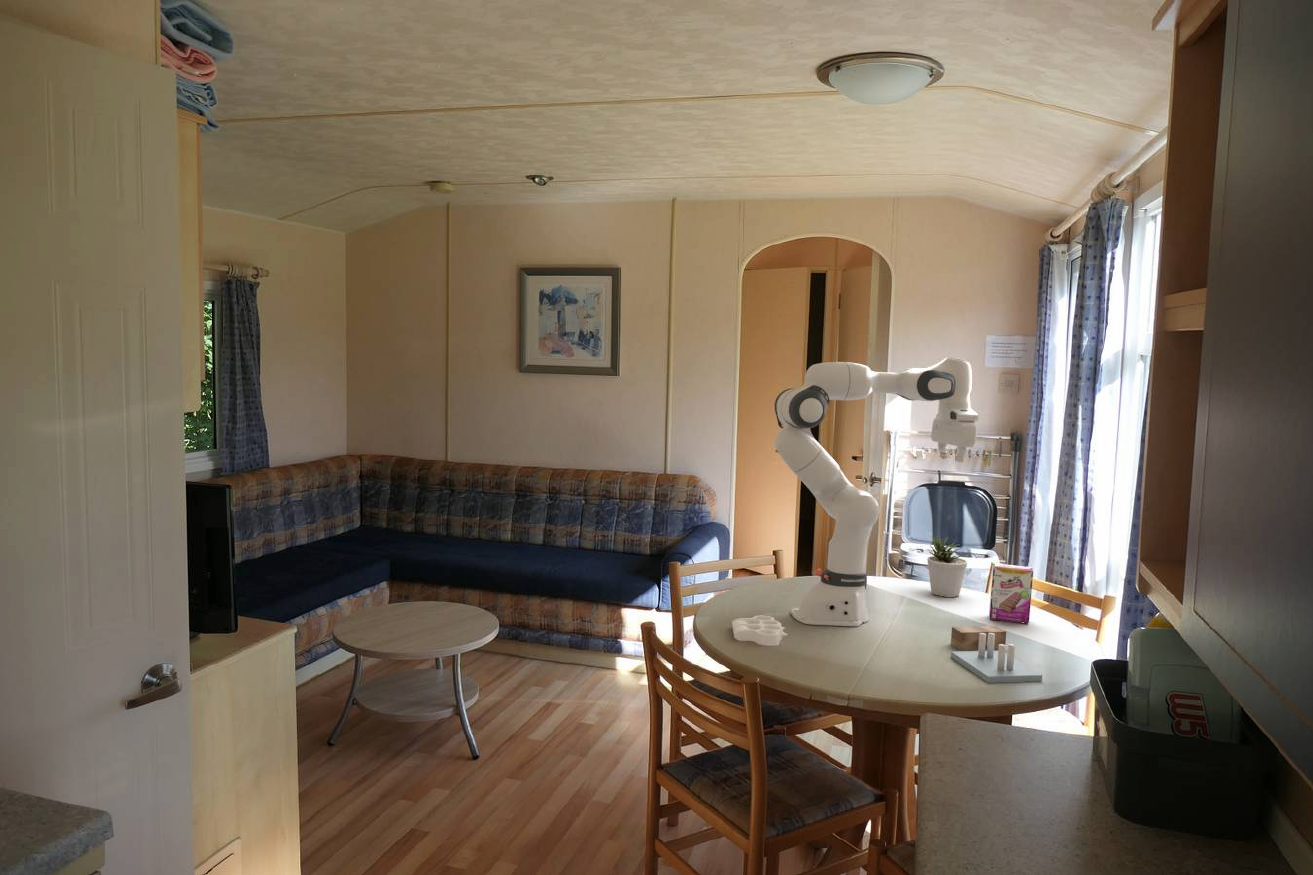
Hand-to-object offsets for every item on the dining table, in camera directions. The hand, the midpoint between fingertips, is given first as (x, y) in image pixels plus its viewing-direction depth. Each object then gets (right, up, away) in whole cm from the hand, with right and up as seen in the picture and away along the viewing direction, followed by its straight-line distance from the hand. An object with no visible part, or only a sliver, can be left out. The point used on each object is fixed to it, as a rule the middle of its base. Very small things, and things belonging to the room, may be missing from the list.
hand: (950, 459), depth 258 cm
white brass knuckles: (-59, -48, -20) cm, 79 cm away
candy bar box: (+18, -48, +3) cm, 52 cm away
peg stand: (-3, -51, -41) cm, 66 cm away
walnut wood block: (-1, -50, -24) cm, 55 cm away
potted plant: (+9, -46, +31) cm, 56 cm away
